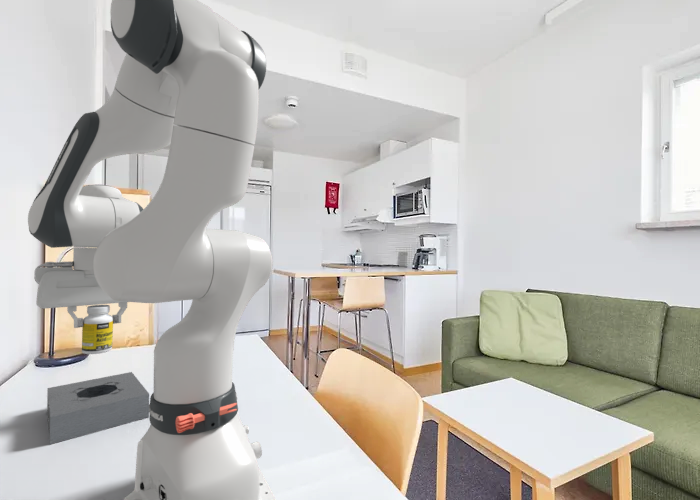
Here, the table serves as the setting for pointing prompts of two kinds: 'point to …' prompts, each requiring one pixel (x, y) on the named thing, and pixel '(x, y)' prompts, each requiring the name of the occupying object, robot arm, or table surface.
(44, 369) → the table surface
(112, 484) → the table surface
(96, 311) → the supplement bottle
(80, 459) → the table surface
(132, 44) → the robot arm
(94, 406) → the block
